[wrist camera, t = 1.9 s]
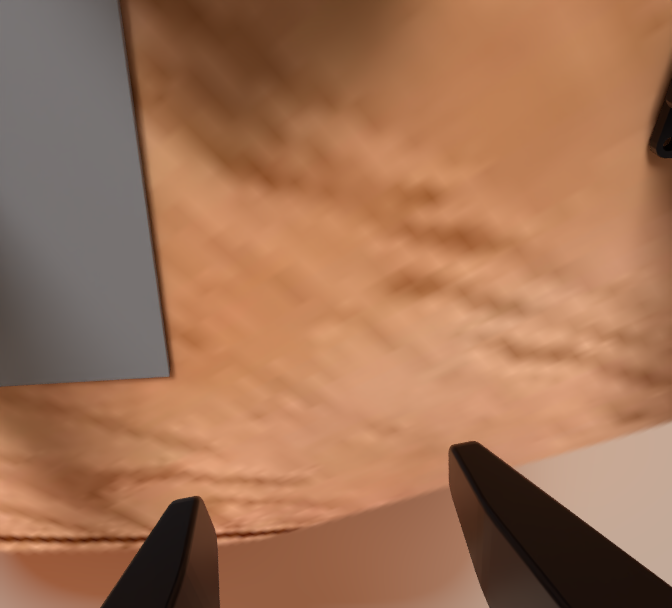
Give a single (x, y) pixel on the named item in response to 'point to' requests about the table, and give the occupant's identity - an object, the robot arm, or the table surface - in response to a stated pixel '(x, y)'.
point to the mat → (73, 202)
